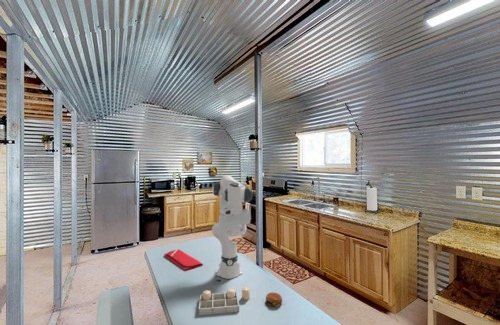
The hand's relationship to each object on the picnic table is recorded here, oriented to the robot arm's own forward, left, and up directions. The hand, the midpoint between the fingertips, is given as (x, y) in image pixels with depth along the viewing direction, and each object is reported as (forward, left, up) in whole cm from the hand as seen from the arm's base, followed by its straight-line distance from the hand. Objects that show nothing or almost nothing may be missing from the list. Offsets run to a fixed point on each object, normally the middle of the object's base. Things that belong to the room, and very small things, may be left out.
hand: (234, 232), depth 145 cm
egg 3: (+2, +6, -40) cm, 40 cm away
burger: (+8, +22, -40) cm, 47 cm away
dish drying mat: (-63, -40, -40) cm, 85 cm away
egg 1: (+4, -17, -39) cm, 43 cm away
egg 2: (+4, -3, -39) cm, 39 cm away
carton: (+7, -10, -40) cm, 42 cm away
